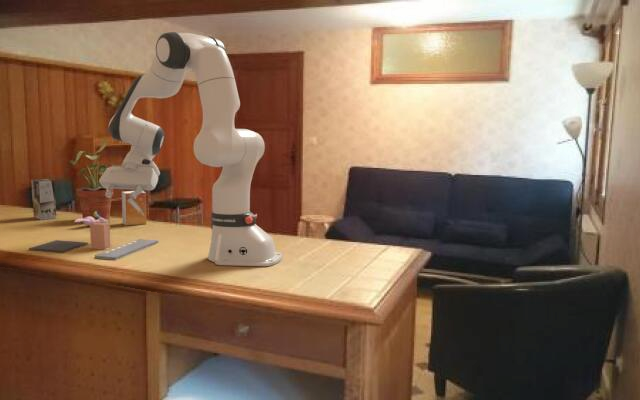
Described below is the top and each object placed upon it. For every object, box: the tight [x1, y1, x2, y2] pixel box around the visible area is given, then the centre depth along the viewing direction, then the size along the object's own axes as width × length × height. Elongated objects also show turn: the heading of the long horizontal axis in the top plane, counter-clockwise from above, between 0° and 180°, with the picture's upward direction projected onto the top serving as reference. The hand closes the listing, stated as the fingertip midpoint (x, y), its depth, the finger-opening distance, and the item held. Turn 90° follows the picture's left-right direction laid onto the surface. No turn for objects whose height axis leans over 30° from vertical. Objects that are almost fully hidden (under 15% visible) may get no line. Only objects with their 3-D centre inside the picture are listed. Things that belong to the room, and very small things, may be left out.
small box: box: [121, 190, 147, 226], centre depth 206 cm, size 8×6×13 cm
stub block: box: [89, 222, 112, 250], centre depth 165 cm, size 5×3×8 cm, turn 78°
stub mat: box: [28, 239, 89, 254], centre depth 166 cm, size 12×12×1 cm
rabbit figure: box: [73, 212, 111, 227], centre depth 201 cm, size 6×6×15 cm
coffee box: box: [30, 178, 57, 221], centre depth 215 cm, size 9×6×16 cm
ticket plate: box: [94, 238, 159, 261], centre depth 164 cm, size 7×24×1 cm, turn 168°
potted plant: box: [69, 140, 114, 220], centre depth 211 cm, size 16×15×35 cm
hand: (120, 197), depth 175 cm, fingers open, 8 cm apart
